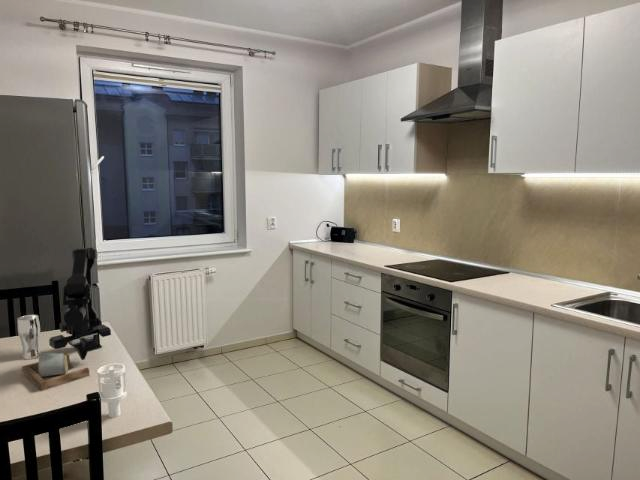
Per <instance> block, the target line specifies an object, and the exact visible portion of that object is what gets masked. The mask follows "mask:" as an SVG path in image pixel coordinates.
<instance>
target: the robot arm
mask: <svg viewBox="0 0 640 480" xmlns="http://www.w3.org/2000/svg"><path fill="white" fill-rule="evenodd" d="M97 259H98V249H95V247H93V246H92V247H91V246H90V247H76V248H75V249H73V250H71V260H72V261H73V263H72V270H71V276H69V277H68V278H67V279H66V282H65V285H64V286H63V293H62V294H63V296H62V305H63V306H68V309H67V310H66V312H65V313H64V315H63V321H64V322H60V323H59V331H60V332H61V333H63V332H65V333H66V334H68V336H64V335H63V334H59V335H55V336H52V337H50V338H49V340H48V343H49V346H50V347H51V348H53V349H54V350H58V349H63V348H66V347H67V346H68V345H70V346H71V347H74V349H75V351H76V352H77V354H78V356H79V358H80V359H81V361H84V360H86V357H87V355H88V352H89V351H94V350H97V349H100V348H103V345H101V339H100V337H102V338H105V337H109V336H112V330H111V328H110V327H108V326H107V325H105V324H103V322H102V320H101V318H100V317H99V314H98V311H96V309H95V308H94V292H93V289H94V288H93V269H94V268H95V266H96V264H97Z"/></svg>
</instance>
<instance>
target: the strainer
mask: <svg viewBox="0 0 640 480" xmlns="http://www.w3.org/2000/svg"><path fill="white" fill-rule="evenodd" d="M117 368H118V369H120V370H117V371H115V369H117ZM105 370H108V372H107V373H105V372H104V371H105ZM96 371H97V383H98V384H97V385H98V395H99V394H100V397H101V401H100V402H101V403H104V404H105V403H106V404H107V411H108V417H109V418H111V417H112V419H113V418H117V417H120V415H121V403H120V402H121V400H123V399H125V398H126V397H127V396H128V392H127V391H128V390H127V380H126V365H124V364H123V363H109V364H105V365H103V366H101V367H99V368H98V369H97V370H96Z"/></svg>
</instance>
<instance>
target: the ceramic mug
mask: <svg viewBox="0 0 640 480" xmlns="http://www.w3.org/2000/svg"><path fill="white" fill-rule="evenodd" d="M67 354H68V353H66V352H47V353H46V352H45V353H42V352H41V354H40V356H39V357H38V362H39V363H38V370H39V371H38V375H39V376H40V377H41V378H44V377H51V376H52V377H53V376H61V375H64V374H67V373H68V369H69V362H68V355H69V354H68V355H67Z"/></svg>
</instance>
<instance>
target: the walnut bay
mask: <svg viewBox="0 0 640 480" xmlns="http://www.w3.org/2000/svg"><path fill="white" fill-rule="evenodd" d="M67 355H68V363H69V362H70V355H69V353H67ZM38 363H39V361H36V362H33V363H29V364H27V365H22V366H21V368H22V374H23V375H24V376H25V377H26V378H27V379H29V381H31V383H33V384H34V385H35V386H36V387H37V388H38V389H39V390H41V392H42V391H46V390H49V389H51V388H56V387H59V386H62V385H64V384H68V383H71V382H74V381H77V380H81V379H84V378H87V377H90V369H89V367H84V368H82V369H78V370H74V371H71V372H66V373H64V374H60V375H56V376H55V377H51V378H48V379H44V377H40V376H39V373H37V372H39V370H38Z"/></svg>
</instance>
